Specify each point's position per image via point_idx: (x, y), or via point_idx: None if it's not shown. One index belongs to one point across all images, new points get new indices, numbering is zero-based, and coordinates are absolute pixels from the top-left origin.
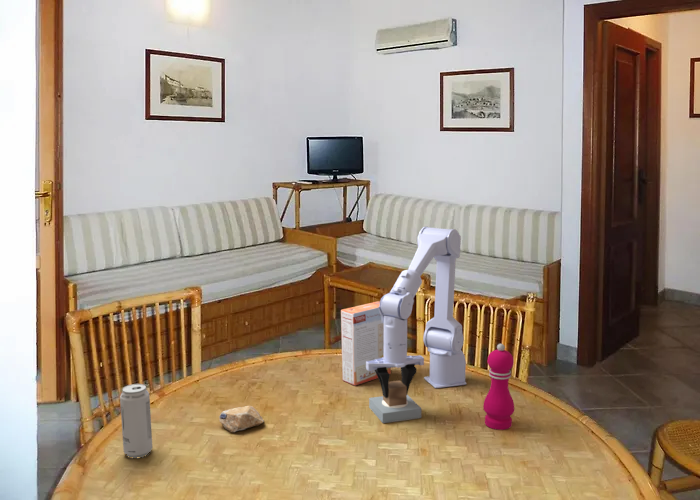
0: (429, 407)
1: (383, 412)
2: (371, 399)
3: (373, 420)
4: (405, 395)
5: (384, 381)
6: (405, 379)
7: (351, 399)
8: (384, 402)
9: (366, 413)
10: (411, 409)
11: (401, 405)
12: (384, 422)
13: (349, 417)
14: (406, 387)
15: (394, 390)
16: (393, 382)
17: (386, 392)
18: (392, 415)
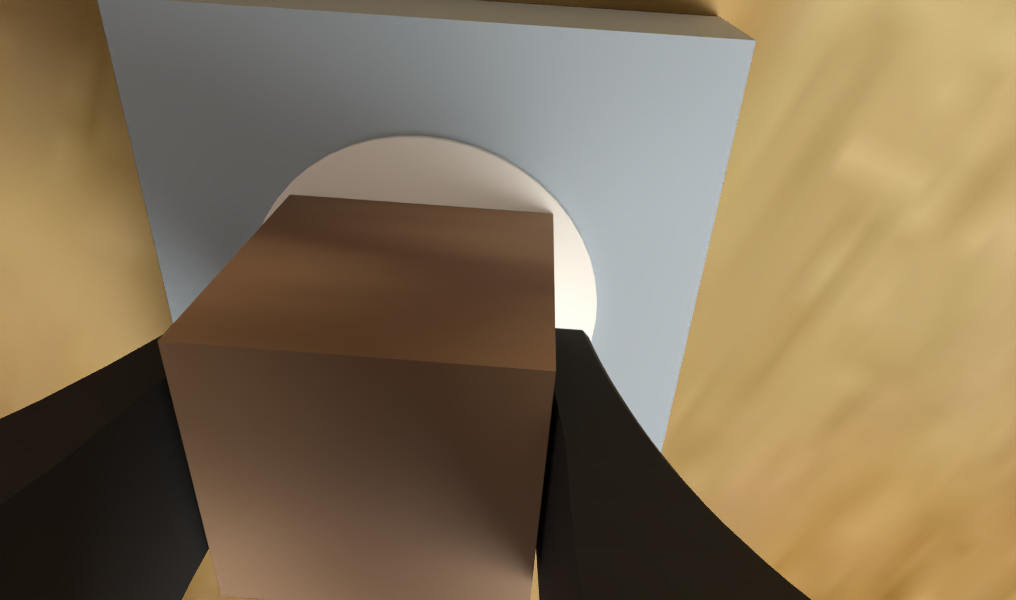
0: (23, 223)
1: (724, 72)
2: None
3: (772, 144)
4: (255, 257)
5: (697, 535)
6: (97, 514)
7: None
8: None
9: (736, 330)
10: (264, 8)
11: (372, 184)
12: (695, 17)
13: (958, 310)
14: (168, 334)
15: (446, 334)
16: (357, 570)
17: (587, 368)
18: (587, 20)
